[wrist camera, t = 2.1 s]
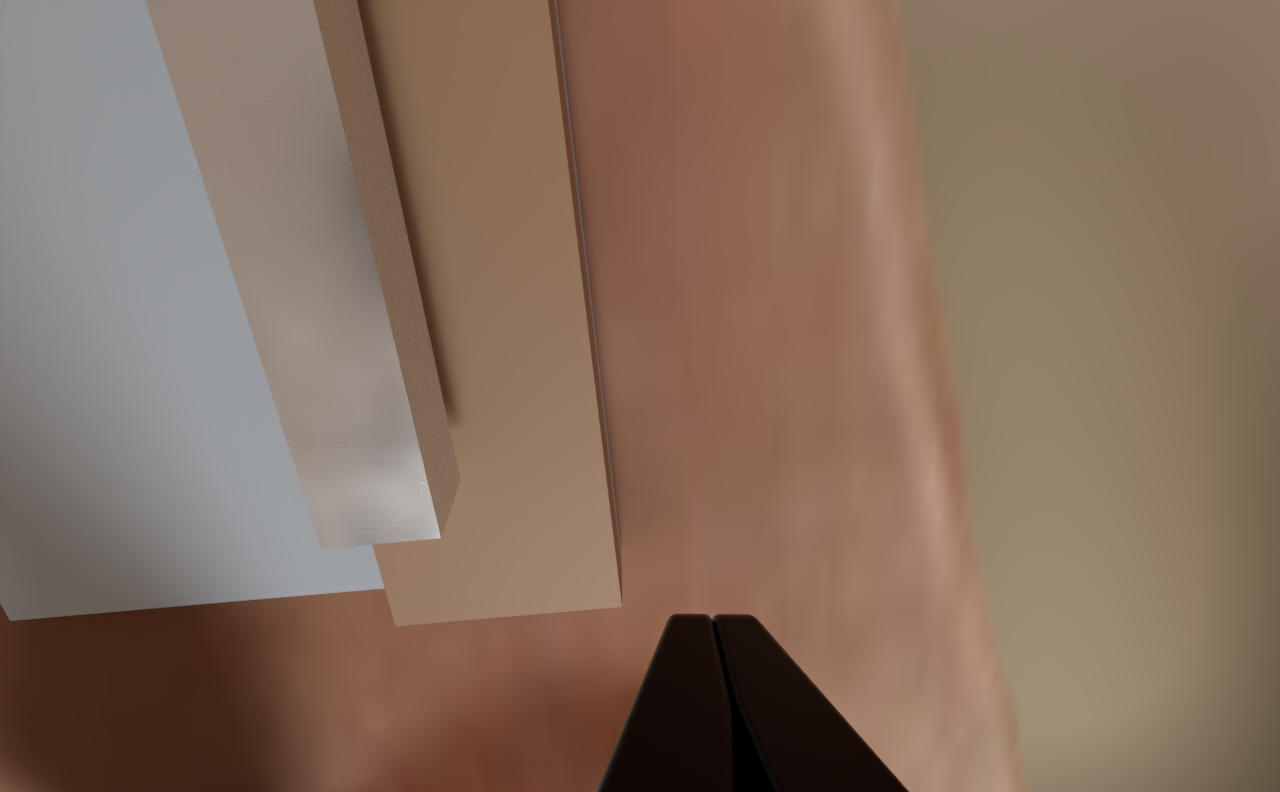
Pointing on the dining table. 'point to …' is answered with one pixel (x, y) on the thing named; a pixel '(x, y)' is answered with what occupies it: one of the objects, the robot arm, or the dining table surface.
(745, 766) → the robot arm
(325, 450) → the latch bar
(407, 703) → the dining table surface
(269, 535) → the door board
